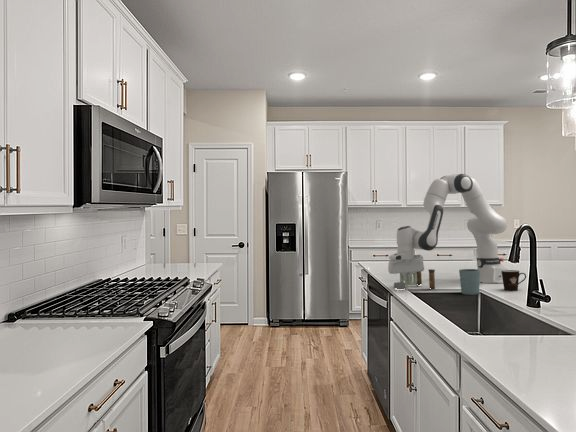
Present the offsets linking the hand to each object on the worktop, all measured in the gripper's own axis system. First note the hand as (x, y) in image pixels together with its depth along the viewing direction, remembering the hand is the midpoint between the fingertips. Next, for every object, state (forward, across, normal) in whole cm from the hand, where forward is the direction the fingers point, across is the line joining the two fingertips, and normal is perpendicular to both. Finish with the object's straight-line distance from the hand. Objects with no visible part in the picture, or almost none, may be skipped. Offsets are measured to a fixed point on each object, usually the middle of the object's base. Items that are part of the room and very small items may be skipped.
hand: (407, 280), depth 266 cm
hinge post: (+5, -11, -8) cm, 15 cm away
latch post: (+5, -12, +6) cm, 14 cm away
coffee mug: (+6, -47, +26) cm, 54 cm away
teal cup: (+5, -22, +25) cm, 34 cm away
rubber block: (+5, +5, 0) cm, 7 cm away
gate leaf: (+4, -4, -7) cm, 9 cm away
